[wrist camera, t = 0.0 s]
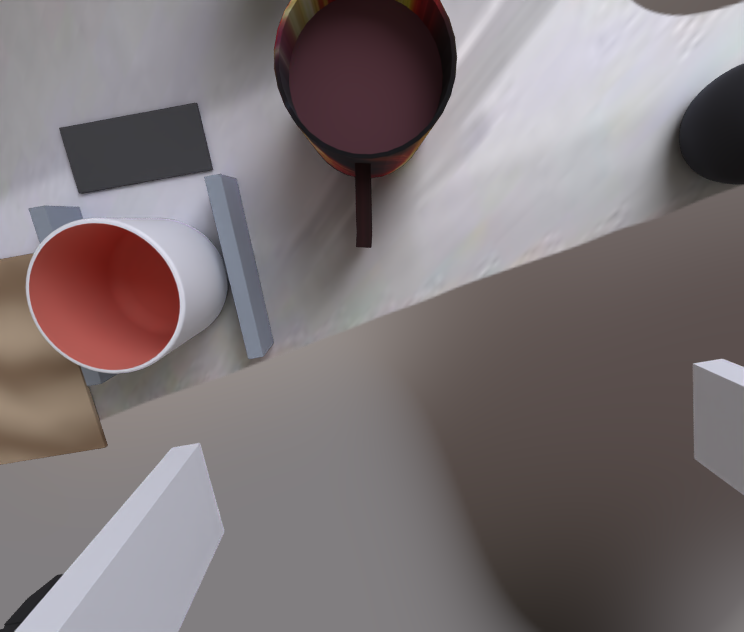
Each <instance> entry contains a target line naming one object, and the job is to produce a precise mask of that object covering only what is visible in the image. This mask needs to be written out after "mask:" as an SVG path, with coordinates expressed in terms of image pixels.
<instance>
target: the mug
mask: <svg viewBox="0 0 744 632" xmlns="http://www.w3.org/2000/svg"><path fill="white" fill-rule="evenodd" d="M456 63H457V53H456V44H455V36H454V33H453V30H452V26H451V23H450V19H449V17H448V15H447V13H446V11H445V9H444V7H443V5H442V3H441V1H440V0H291V1H290V2H289V4H288V6H287V7H286V9H285V11H284V13H283V16H282V19H281V21H280V24H279V27H278V29H277V35H276V41H275V47H274V70H275V75H276V80H277V86H278V89H279V92H280V95H281V97H282V100H283V102H284V105H285V107H286V109H287V110H288V112H289V114H290V115H291V117H292V119H293V120H294V122H295V123H296V124H297V126H298V127H299V128H300V130H301V131H302V132H303V133H304V135H305V136H306V137H307V139H308V140H309V141H310V143H311V144H312V145H313V146H314V148H315V149H316V150H317V152H318V153H319V154H320V155H321V156H322V157H323V159H324V160H325V161H326V162H327V163H328V164H330V165H331V166H332V167H334V168H335V169H336V170H338V171H340V172H342V173H344V174H346V175H350V176H354V177H355V186H356V225H357V237H356V247H366V248H371V246H372V204H371V178H375V177H381V176H384V175H387V174H389V173H392V172H394V171H395V170H397V169H398V168H400V167H402V166H403V165H404V164H405V163H406V162H407V161H408V160H409V159H410V158H411V157H412V156H413V155H414V153H415V152H416V150H417V149H418V147H419V146H420V145H421V143H422V142H423V140H424V139H425V137H426V136H427V135H428V133H429V132H430V130H431V129H432V127H433V126H434V125H435V123H436V122H437V120H438V119H439V117H440V116H441V114H442V113H443V111H444V109H445V107H446V105H447V102H448V100H449V98H450V96H451V92H452V88H453V84H454V81H455V77H456Z"/></svg>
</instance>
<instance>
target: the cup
mask: <svg viewBox="0 0 744 632" xmlns="http://www.w3.org/2000/svg"><path fill="white" fill-rule="evenodd" d="M227 288H228V281H227V273H226V268H225V265H224V262H223V260H222V257H221V256H220V254H219V252H218V250H217V249H216V247H215V246H214V245H213V243H212V242H211V241H210V240H209V239H208V238H207V237H206V236H205V235H204V234H202V233H201V232H200V231H198V230H197V229H195V228H194V227H192V226H190V225H188V224H186V223H183V222H180V221H177V220H172V219H166V218H88V219H81V220H77V221H73V222H70V223H68V224H65V225H63V226H61V227H59V228H58V229H56V230H55V231H53V232H52V233H50V234H49V235H48V236H47V237H46V238H45V239H44V240H43V241H42V242H41V244H40V245H39V246H38V248H37V249H36V251H35V252H34V254H33V256H32V258H31V261H30V264H29V267H28V270H27V276H26V297H27V302H28V306H29V310H30V313H31V315H32V318H33V320H34V322H35V324H36V326H37V328H38V330H39V331H40V333H41V334H42V335H43V337H44V338H45V339H46V341H47V342H48V343H49V344H50V345H51V346H52V347H53V348H54V349H55V350H56V351H57V352H59V353H60V354H61V355H63V356H64V357H65V358H67V359H68V360H70V361H72V362H73V363H75V364H77V365H79V366H82V367H84V368H87V369H90V370H93V371H97V372H103V373H113V374H118V373H129V372H133V371H137V370H140V369H143V368H146V367H148V366H150V365H152V364H154V363H155V362H157V361H158V360H160V359H161V358H163V357H164V356H166V355H167V354H169V353H170V352H172V351H173V350H175V349H176V348H178V347H179V346H180V345H182V344H183V343H185V342H186V341H188V340H189V339H191V338H192V337H194V336H195V335H197V334H198V333H200V332H201V331H203V330H204V329H206V328H207V327H208V326H209V325H210V324H211V323H212V322H213V321H214V320H215V319H216V318H217V316H218V315H219V313H220V311H221V310H222V308H223V305H224V303H225V299H226V296H227Z"/></svg>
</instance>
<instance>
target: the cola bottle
mask: <svg viewBox="0 0 744 632" xmlns="http://www.w3.org/2000/svg"><path fill="white" fill-rule="evenodd" d="M679 141H680V148H681V152H682V155H683V157H684V159H685V161H686V162H687V164H688V165H689V166H690V167H691V168H692V169H693V170H694V171H695V172H696V173H698V174H699V175H701V176H703V177H705V178H707V179H710V180H713V181H717V182H721V183H727V184H744V64H741V65H739V66H737V67H735V68H733V69H731V70H729V71H727V72H726V73H724V74H722V75H721V76H719V77H718V78H716V79H715V80H714V81H712V82H711V83H710V84H709V85H707V86H706V87H705V88H704V89H703V90H702V91H701V92H700V93H699V94H698V95H697V96H696V97H695V98H694V100H693V101H692V102H691V104H690V105H689V107H688V109H687V110H686V112H685V115H684V117H683V120H682V123H681V127H680V134H679Z"/></svg>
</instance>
